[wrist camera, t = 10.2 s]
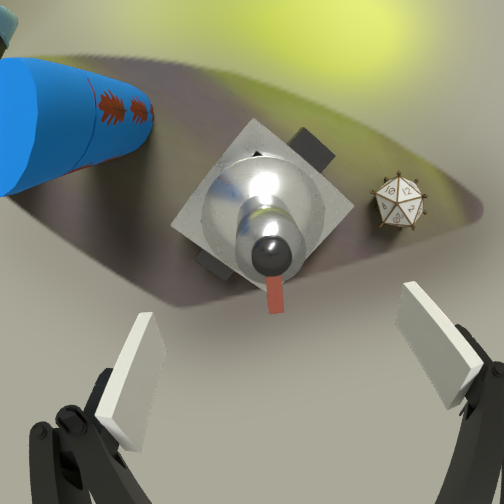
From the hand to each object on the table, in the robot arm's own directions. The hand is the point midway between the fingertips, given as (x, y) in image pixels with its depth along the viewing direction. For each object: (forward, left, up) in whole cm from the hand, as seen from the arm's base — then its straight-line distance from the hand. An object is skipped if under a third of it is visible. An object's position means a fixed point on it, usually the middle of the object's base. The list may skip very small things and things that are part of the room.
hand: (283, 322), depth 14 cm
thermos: (-23, -3, -28) cm, 37 cm away
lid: (0, 0, -22) cm, 22 cm away
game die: (+15, +13, -28) cm, 35 cm away
